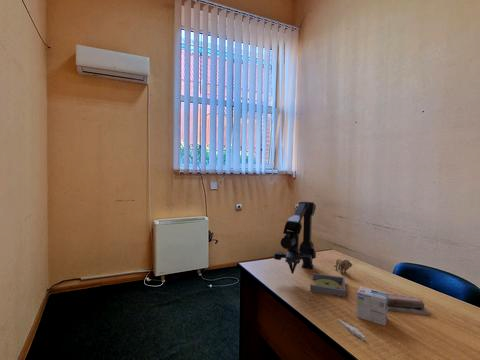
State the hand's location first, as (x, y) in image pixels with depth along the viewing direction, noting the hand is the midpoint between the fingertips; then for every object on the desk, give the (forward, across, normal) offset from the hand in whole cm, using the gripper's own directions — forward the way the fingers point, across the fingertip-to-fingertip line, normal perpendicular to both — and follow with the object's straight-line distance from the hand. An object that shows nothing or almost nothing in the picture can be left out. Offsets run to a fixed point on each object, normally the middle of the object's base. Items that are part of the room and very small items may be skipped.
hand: (292, 273), depth 142 cm
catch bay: (+5, +17, 0) cm, 18 cm away
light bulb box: (+5, +35, -23) cm, 42 cm away
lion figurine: (+5, +25, +23) cm, 35 cm away
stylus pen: (+5, +26, -34) cm, 43 cm away
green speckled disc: (+5, +17, 0) cm, 18 cm away
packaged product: (+5, +49, -9) cm, 50 cm away
